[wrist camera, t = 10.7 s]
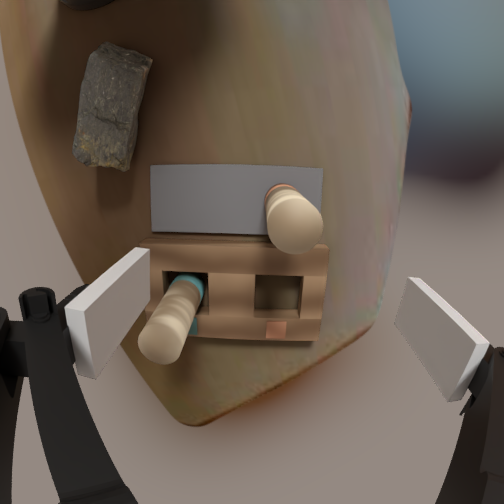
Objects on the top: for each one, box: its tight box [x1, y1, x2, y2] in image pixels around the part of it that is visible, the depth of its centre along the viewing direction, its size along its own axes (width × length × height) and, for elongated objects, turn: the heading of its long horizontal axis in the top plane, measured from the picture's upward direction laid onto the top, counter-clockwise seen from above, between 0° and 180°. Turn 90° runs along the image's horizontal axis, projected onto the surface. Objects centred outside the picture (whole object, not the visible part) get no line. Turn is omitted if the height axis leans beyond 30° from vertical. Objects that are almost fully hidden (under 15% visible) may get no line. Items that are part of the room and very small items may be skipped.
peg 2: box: [264, 183, 323, 254], centre depth 29 cm, size 4×4×14 cm
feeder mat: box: [150, 164, 323, 235], centre depth 36 cm, size 8×20×1 cm, turn 88°
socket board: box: [139, 238, 330, 341], centre depth 38 cm, size 12×22×3 cm, turn 88°
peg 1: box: [138, 272, 206, 364], centre depth 33 cm, size 4×4×14 cm
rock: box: [72, 42, 152, 172], centre depth 30 cm, size 17×7×10 cm
